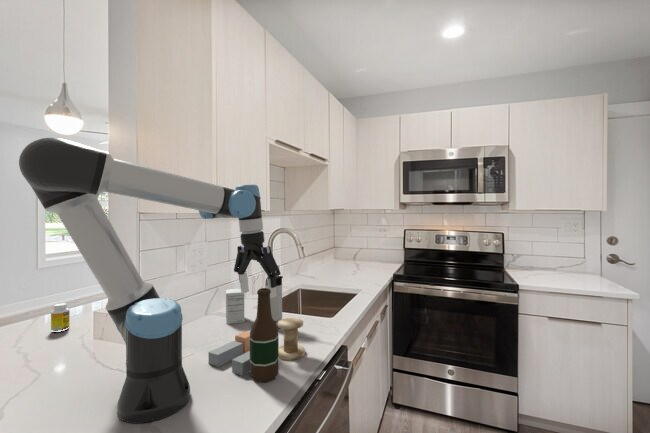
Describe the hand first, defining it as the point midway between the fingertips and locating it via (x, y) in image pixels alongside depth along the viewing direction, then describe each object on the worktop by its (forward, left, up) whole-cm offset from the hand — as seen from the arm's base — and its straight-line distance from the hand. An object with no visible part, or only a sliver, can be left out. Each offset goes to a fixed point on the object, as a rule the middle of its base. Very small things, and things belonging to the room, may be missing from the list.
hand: (258, 294), depth 108 cm
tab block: (-4, +3, -18) cm, 18 cm away
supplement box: (+15, +28, -18) cm, 36 cm away
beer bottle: (-14, -15, -18) cm, 27 cm away
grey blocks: (-12, -2, -18) cm, 21 cm away
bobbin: (+1, -12, -18) cm, 22 cm away
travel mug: (+18, +9, -18) cm, 27 cm away
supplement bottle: (-28, +77, -18) cm, 83 cm away
